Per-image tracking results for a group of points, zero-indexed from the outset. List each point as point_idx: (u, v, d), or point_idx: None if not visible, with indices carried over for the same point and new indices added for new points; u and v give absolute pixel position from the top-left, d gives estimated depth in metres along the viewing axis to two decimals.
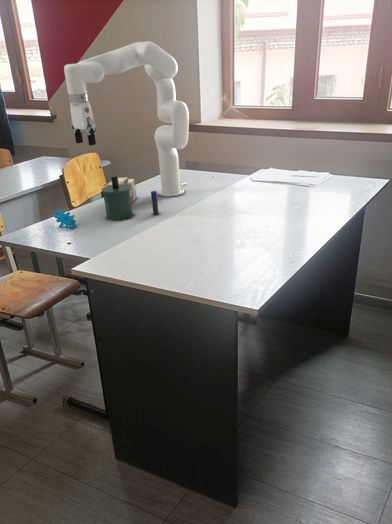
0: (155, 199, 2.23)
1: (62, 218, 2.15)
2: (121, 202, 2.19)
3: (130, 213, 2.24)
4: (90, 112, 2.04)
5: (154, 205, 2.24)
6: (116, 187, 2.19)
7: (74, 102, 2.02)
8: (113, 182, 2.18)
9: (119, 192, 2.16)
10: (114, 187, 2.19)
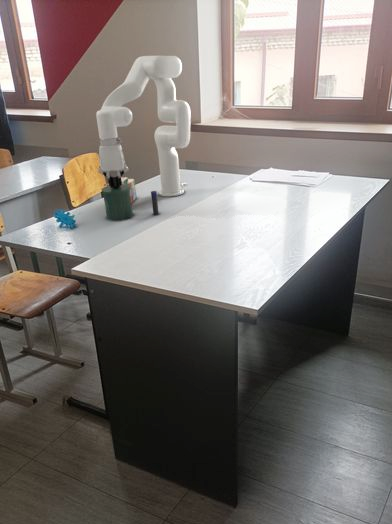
0: (155, 199, 2.23)
1: (62, 218, 2.15)
2: (121, 202, 2.19)
3: (130, 213, 2.24)
4: None
5: (154, 205, 2.24)
6: (116, 187, 2.19)
7: (112, 146, 2.08)
8: (113, 182, 2.18)
9: (119, 192, 2.16)
10: (114, 187, 2.19)
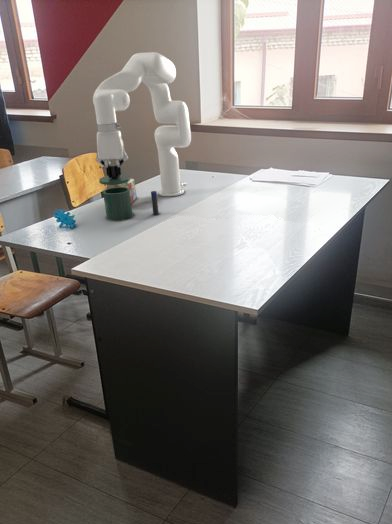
0: (155, 199, 2.23)
1: (62, 218, 2.15)
2: (121, 202, 2.19)
3: (130, 213, 2.24)
4: (122, 140, 1.98)
5: (154, 205, 2.24)
6: (115, 177, 2.03)
7: (110, 132, 1.92)
8: (112, 172, 2.02)
9: (118, 182, 2.00)
10: (113, 177, 2.03)
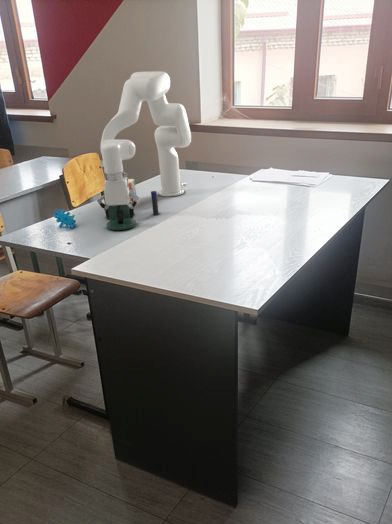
0: (155, 199, 2.23)
1: (62, 218, 2.15)
2: None
3: None
4: (128, 187, 2.08)
5: (154, 205, 2.24)
6: (121, 222, 2.13)
7: (117, 180, 2.02)
8: (118, 217, 2.12)
9: (124, 228, 2.10)
10: (119, 222, 2.13)
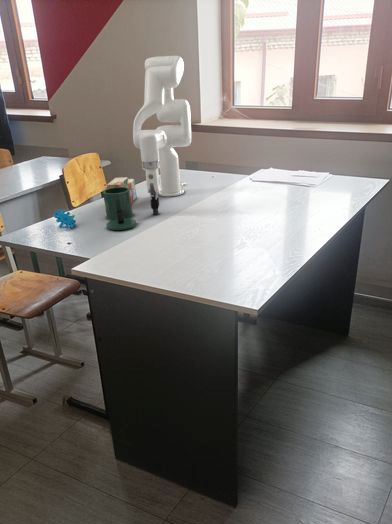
0: None
1: (62, 218, 2.15)
2: (121, 202, 2.19)
3: (130, 213, 2.24)
4: (154, 179, 2.14)
5: None
6: (121, 222, 2.13)
7: None
8: (118, 217, 2.12)
9: (124, 228, 2.10)
10: (119, 222, 2.13)
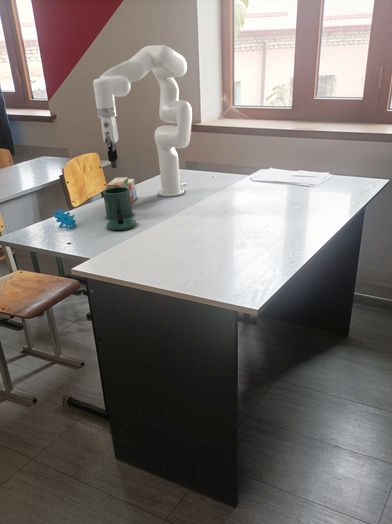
0: None
1: (62, 218, 2.15)
2: (121, 202, 2.19)
3: (130, 213, 2.24)
4: (110, 127, 2.03)
5: None
6: (121, 222, 2.13)
7: (98, 116, 2.04)
8: (118, 217, 2.12)
9: (124, 228, 2.10)
10: (119, 222, 2.13)
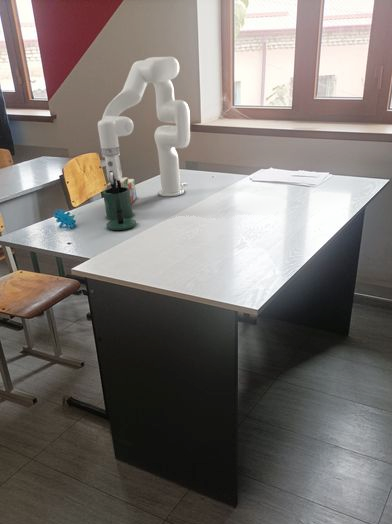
0: None
1: (62, 218, 2.15)
2: (121, 202, 2.19)
3: (130, 213, 2.24)
4: (114, 166, 2.11)
5: None
6: (121, 222, 2.13)
7: (102, 155, 2.12)
8: (118, 217, 2.12)
9: (124, 228, 2.10)
10: (119, 222, 2.13)
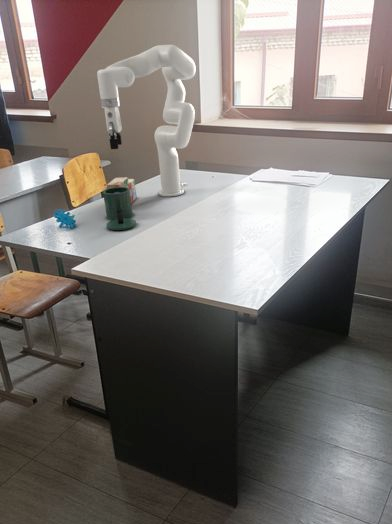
0: None
1: (62, 218, 2.15)
2: (121, 202, 2.19)
3: (130, 213, 2.24)
4: (113, 117, 2.08)
5: None
6: (121, 222, 2.13)
7: (102, 106, 2.09)
8: (118, 217, 2.12)
9: (124, 228, 2.10)
10: (119, 222, 2.13)
